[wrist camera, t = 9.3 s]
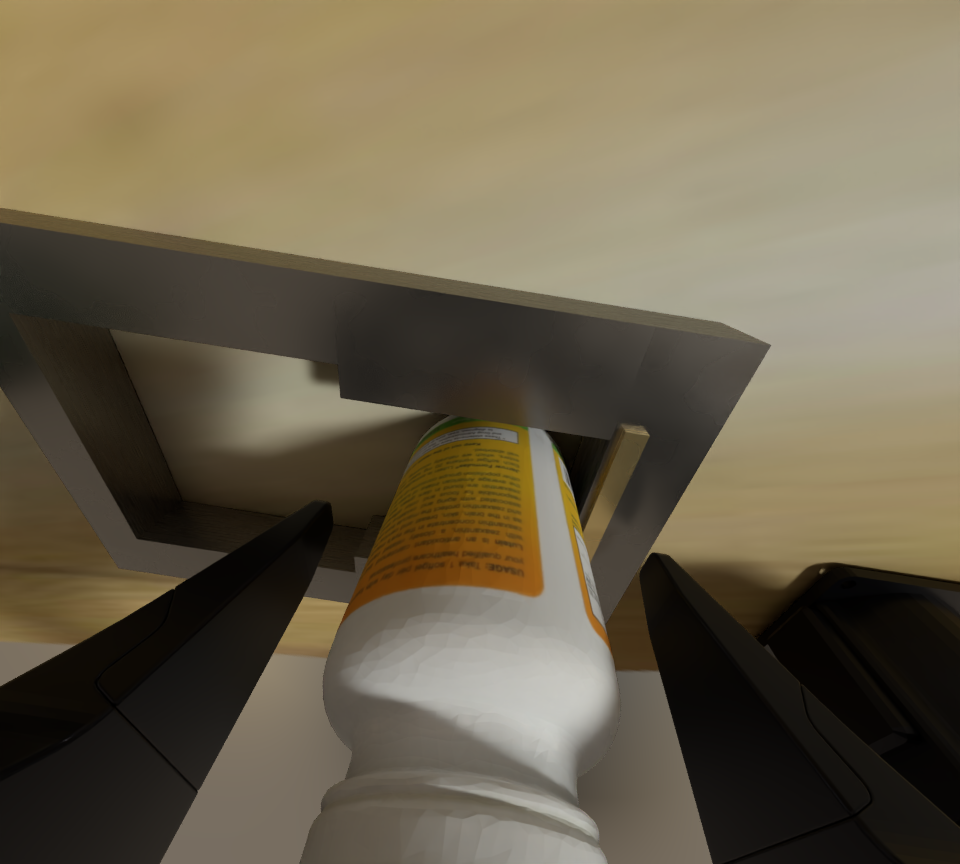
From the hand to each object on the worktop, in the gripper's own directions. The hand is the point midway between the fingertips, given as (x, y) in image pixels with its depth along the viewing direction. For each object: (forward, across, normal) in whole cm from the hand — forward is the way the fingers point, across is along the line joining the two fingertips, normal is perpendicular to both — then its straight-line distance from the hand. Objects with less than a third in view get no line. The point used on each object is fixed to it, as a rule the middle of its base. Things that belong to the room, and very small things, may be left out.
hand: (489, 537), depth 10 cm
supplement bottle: (+3, 0, 0) cm, 3 cm away
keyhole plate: (+3, +4, 0) cm, 5 cm away
